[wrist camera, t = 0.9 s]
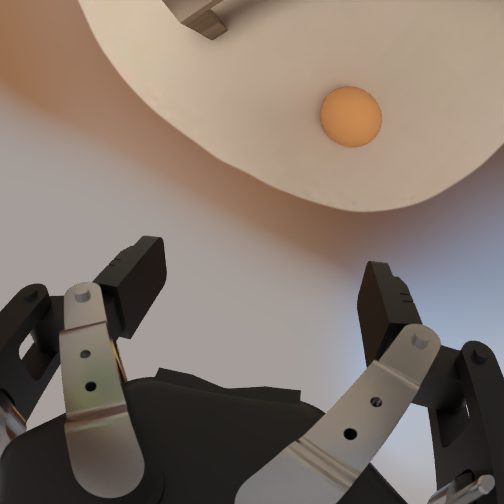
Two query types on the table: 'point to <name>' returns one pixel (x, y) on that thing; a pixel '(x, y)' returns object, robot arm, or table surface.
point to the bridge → (197, 16)
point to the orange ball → (351, 116)
